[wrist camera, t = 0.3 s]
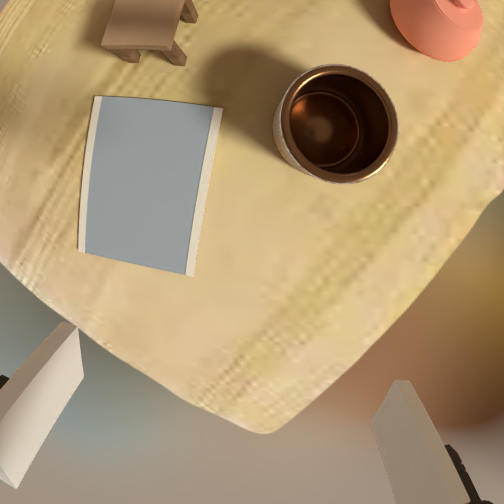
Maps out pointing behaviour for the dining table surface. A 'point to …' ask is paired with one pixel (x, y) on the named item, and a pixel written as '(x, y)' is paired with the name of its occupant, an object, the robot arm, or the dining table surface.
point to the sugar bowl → (439, 26)
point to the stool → (147, 28)
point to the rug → (147, 181)
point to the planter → (336, 124)
